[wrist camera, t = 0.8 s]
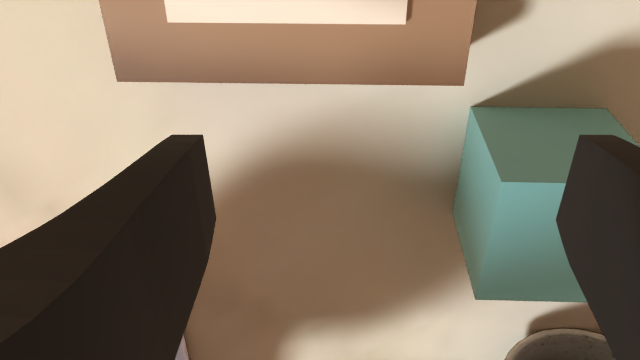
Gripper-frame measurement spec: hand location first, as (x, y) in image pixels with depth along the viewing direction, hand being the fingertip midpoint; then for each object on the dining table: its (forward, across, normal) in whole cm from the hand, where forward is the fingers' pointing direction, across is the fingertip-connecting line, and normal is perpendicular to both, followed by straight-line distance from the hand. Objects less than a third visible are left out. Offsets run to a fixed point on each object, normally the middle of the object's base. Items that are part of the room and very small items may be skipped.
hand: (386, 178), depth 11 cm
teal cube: (+10, -6, +6) cm, 13 cm away
